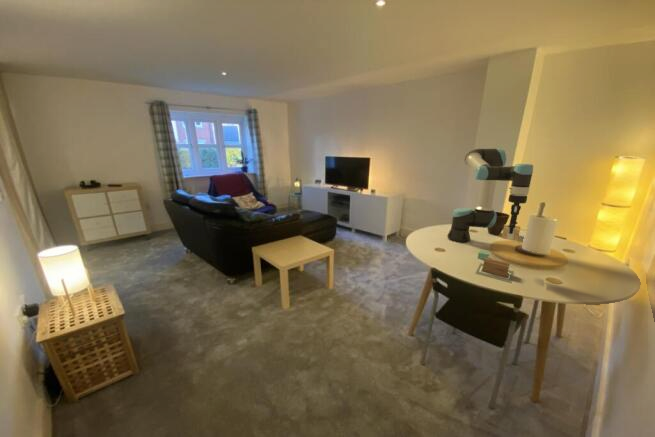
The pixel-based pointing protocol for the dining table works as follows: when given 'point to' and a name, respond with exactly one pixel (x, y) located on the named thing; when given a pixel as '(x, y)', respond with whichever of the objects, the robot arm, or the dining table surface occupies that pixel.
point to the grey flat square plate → (508, 279)
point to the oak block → (516, 233)
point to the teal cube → (483, 254)
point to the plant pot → (498, 223)
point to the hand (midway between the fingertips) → (509, 237)
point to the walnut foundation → (496, 267)
